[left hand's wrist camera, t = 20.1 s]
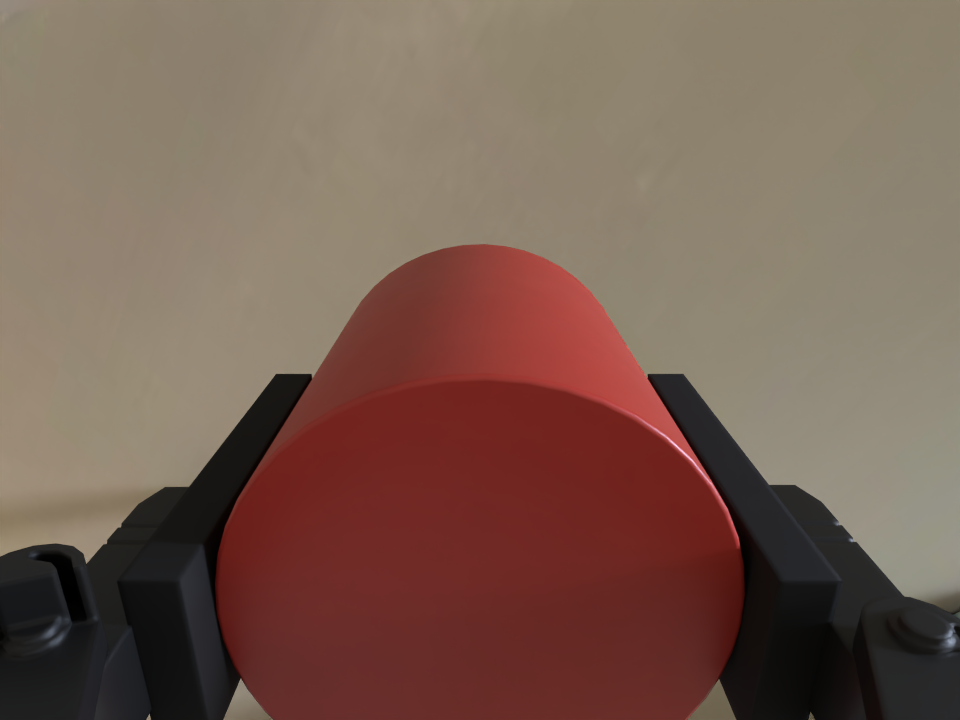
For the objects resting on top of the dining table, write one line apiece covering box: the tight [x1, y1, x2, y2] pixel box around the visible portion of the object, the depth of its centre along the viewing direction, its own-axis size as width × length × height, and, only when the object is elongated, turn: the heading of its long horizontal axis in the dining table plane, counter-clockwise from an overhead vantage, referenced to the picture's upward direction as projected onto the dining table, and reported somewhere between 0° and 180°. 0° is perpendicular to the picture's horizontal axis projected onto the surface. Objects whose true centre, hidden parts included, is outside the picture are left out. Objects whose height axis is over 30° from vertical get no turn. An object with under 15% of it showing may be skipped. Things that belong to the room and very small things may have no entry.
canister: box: [215, 244, 745, 720], centre depth 13 cm, size 7×7×8 cm
